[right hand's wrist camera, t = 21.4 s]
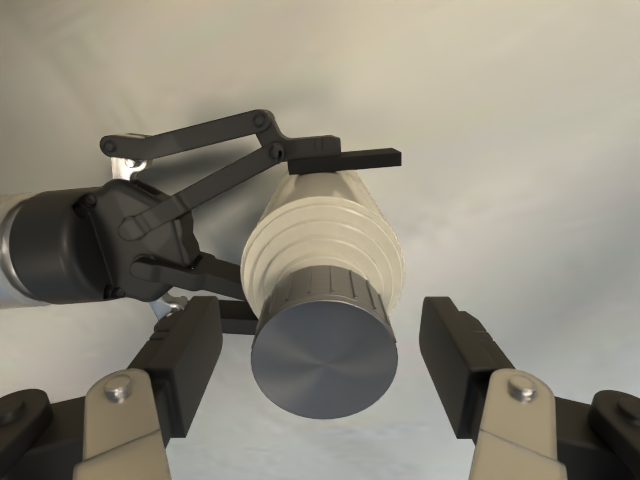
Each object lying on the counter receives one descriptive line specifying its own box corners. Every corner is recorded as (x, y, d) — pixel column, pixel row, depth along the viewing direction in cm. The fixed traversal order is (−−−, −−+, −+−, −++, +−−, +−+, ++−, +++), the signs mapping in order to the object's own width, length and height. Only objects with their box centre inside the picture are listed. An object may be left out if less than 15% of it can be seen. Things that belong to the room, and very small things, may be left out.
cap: (399, 349, 13) (416, 398, 11) (290, 382, 13) (284, 435, 11) (362, 245, 11) (373, 277, 9) (241, 287, 12) (223, 327, 10)
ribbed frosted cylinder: (267, 165, 27) (171, 262, 10) (360, 148, 27) (438, 219, 9) (286, 250, 30) (238, 451, 12) (371, 236, 30) (449, 424, 12)
